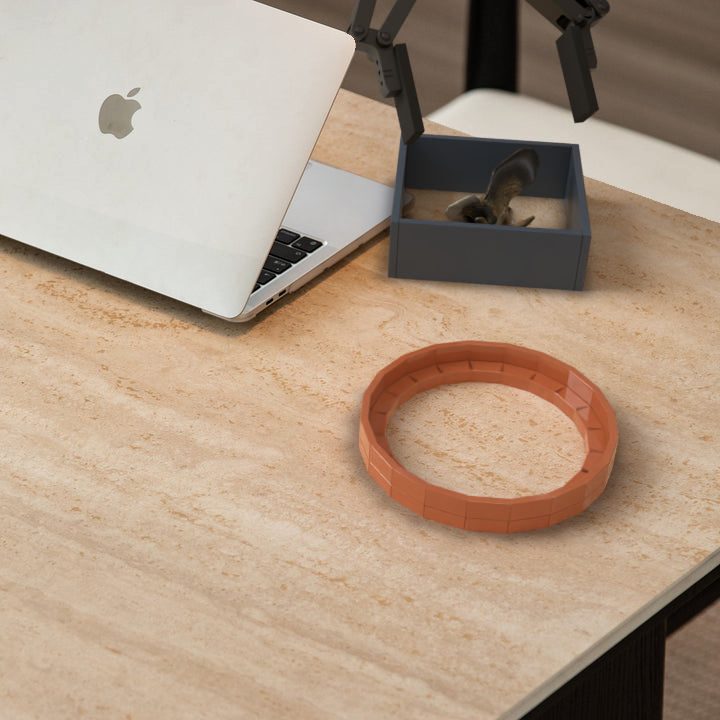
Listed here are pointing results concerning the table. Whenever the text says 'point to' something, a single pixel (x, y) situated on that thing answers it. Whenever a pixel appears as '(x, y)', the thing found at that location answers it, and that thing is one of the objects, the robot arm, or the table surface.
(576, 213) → the bin
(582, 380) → the faceted orange ring
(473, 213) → the eagle figurine
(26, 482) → the table surface
